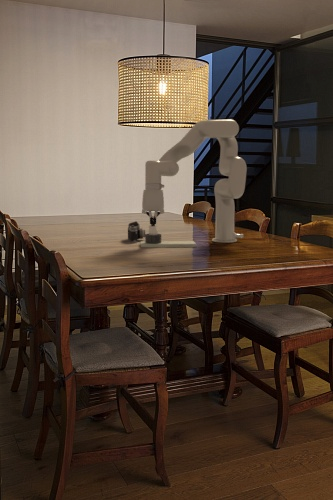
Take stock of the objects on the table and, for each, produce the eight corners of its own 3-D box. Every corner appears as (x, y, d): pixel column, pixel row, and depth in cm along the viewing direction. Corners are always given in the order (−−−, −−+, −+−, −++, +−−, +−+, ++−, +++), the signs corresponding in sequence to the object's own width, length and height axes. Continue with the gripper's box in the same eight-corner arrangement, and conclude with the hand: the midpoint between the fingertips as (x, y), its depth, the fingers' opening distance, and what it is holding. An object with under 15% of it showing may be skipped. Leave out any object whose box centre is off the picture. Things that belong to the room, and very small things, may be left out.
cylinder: (157, 239, 275) (157, 225, 274) (158, 241, 270) (158, 226, 269) (148, 240, 275) (148, 225, 273) (149, 241, 270) (148, 226, 269)
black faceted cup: (160, 241, 277) (160, 233, 276) (161, 243, 269) (161, 235, 269) (145, 241, 276) (145, 233, 276) (145, 243, 269) (145, 235, 268)
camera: (147, 242, 284) (147, 222, 283) (130, 243, 282) (130, 222, 281) (143, 238, 299) (143, 219, 298) (127, 239, 298) (127, 219, 296)
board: (193, 244, 279) (193, 241, 279) (196, 247, 269) (196, 243, 269) (140, 244, 277) (140, 241, 277) (141, 247, 268) (141, 244, 267)
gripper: (168, 186, 273) (168, 225, 276) (137, 186, 272) (137, 224, 275) (169, 187, 266) (169, 226, 268) (137, 187, 264) (137, 226, 267)
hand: (153, 225), depth 271 cm, fingers closed
